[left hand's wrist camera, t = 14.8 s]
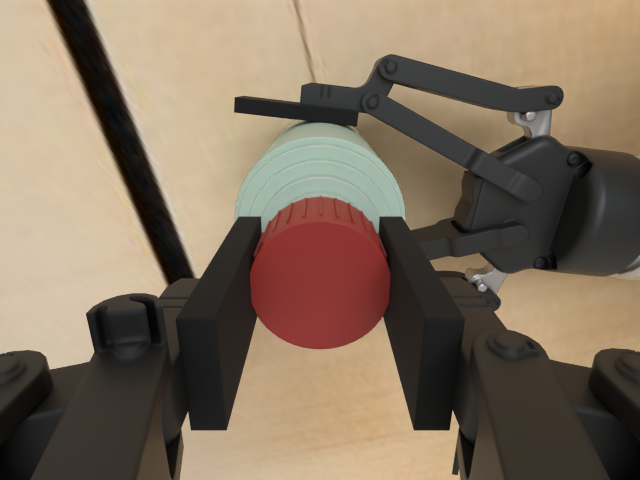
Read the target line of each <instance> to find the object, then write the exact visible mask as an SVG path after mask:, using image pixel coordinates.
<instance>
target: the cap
mask: <svg viewBox="0 0 640 480" xmlns="http://www.w3.org/2000/svg"><path fill="white" fill-rule="evenodd" d="M253 257H255V258H254V261H253V264H252V267H251V270H250V284H251V299H252V306H253V308H254V310H255V312H256V314H257V316H258V317H259V319H260V320H261V322H262V323H263V324H264V325H265V326H266V327H267V328H268V329H269V330H270V331H271V332H272V333H273V334H275V335H276V336H278V337H279V338H281V339H283V340H284V341H286V342H289V343H291V344H294V345H296V346H300V347H304V348H310V349H330V348H336V347H340V346H344V345H347V344H349V343H352V342H354V341H356V340H358V339H360V338H361V337H363V336H364V335H366V334H367V333H368V332H370V331H371V330H372V329H373V328H374V327H375V326H376V325H377V323H378V322H379V321H380V320H381V318H382V316H383V315H384V313H385V311H386V309H387V307H388V304H389V291H390V275H391V272H390V269H389V265H388V262H387V260H386V258H387V257H388V256H387V254H386V251H385V249H384V246H383V244H382V241H381V239H380V236H379V234H378V233H376V231H375V228H374V225H373V223H372V221H369V220H368V218H367V217H366V216H365V215H364V214H363V211H359V210H358V209H357V208H355V207H354V206H352V205H351V203H346V202H344V201H341V200H338V199H337V198H329V197H322V196H319V197H311V198H307V197H306V198H304V199H302V200H299V201H296V202H294V203H293V202H291V203H290V205H288V206H287V207H285V208H284V209H282V210H279V211H278V213H277V214H276V215H275V217H274V218H273V219H272V220H269V222H268V224H267V227H266V230H265V232H262V235H261V237H260V240H259V242H258V245H257V247H256V250H255V253H254V255H253Z"/></svg>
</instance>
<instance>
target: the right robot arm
mask: <svg viewBox="0 0 640 480" xmlns="http://www.w3.org/2000/svg"><path fill="white" fill-rule="evenodd" d="M393 84H398V85H402V86H405V87H409V88H413V89H417V90H420V91H424V92H428V93H431V94H435V95H439V96H443V97H446V98H450V99H454V100H458V101H461V102H465V103H469V104H472V105H476V106H480V107H484V108H488V109H493V110H500V111H507V119H508V121H509V122H510V123H511V124H514V125H519V126H521V127H522V128H523V130H524V134H525V135H524V136H522V137H520V138H518V139H516V140H515V141H513V142H511V143H509V144H507V145H505V146H503V147H501V148H499V149H498V150H496V151H494V152H492V153H490V154H488V153H486V152H484V151H482V150H480V149H478V148H476V147H474V146H473V145H471V144H469V143H467V142H466V141H464V140H462V139H460V138H459V137H457V136H455V135H453V134H452V133H450V132H448V131H446V130H445V129H443V128H441V127H439V126H438V125H436V124H434V123H432V122H431V121H429V120H427V119H425V118H424V117H422V116H420V115H418V114H417V113H415V112H413V111H411V110H410V109H408V108H406V107H404V106H403V105H401V104H399V103H397V102H396V101H394V100H392V99H390V98H389V97H387V95H388V94H389V92H390V90H391V88H392V86H393ZM563 97H564V95H563V91H562V89H561V88H560V87H558V86H523V87H510V86H506V85H503V84H499V83H495V82H492V81H488V80H485V79H481V78H477V77H474V76H470V75H466V74H463V73H459V72H456V71H452V70H448V69H445V68H441V67H437V66H434V65H430V64H426V63H423V62H419V61H416V60H412V59H408V58H405V57H401V56H397V55H391V54H390V55H387V56H384V57H382V58H380V59H378V60H377V61H376V62H375V65H374V68H373V70H372V72H371V74H370V76H369V78H368V80H367V81H366V83H365V84H364V85H362V86H360V87H357V88H351V87H343V86H335V85H327V84H318V83H309V84H305V85H302V88H301V99H300V103H299V102H290V101H282V100H273V99H265V98H257V97H248V96H240V97H235V107H234V112H236V113H244V114H253V115H262V116H270V117H279V118H287V119H296V120H304V121H313V122H321V123H330V124H338V125H347V126H355V127H357V120H358V113H359V112H361V113H368V114H370V115H371V116H373V117H375V118H377V119H379V120H380V121H382V122H384V123H386V124H387V125H389V126H391V127H393V128H395V129H396V130H398V131H400V132H402V133H404V134H405V135H407V136H409V137H411V138H413V139H414V140H416V141H418V142H420V143H422V144H423V145H425V146H427V147H429V148H431V149H432V150H434V151H436V152H438V153H439V154H441V155H443V156H445V157H447V158H448V159H450V160H452V161H454V162H456V163H457V164H459V165H461V166H463V167H465V168H466V169H468V171H464V175H463V180H462V197H461V199H460V201H459V203H458V204H457V206H456V209H455V213H454V217H453V218H449V219H445V220H441V221H439V222H437V224H435V225H432V226H428V227H424V228H420V229H416V230H411V232H412V234H413V235H414V237H415V239H416V240H417V242H418V244H419V245H420V247H421V248H422V250H423V252H424V253H425V255H426V257H427V258H428V260H433V259H437V258H441V257H446V256H453V257H462V256H466V255H471V254H475V253H480V254H481V255H482V256H483V257H484V258H485V259H486V260H487V261H488V262H489V263H488V264H487V265H486V266H485V267H484V268H481V269H472V268H469V269H467V270H466V272H465V273H461V272H456V271H436V273H437V274H438V276H439V277H460V278H462V279H463V280H465V281H467V282H468V283H470V284H472V285H473V286H474V287H475V288H476V289H477V291H478V292H479V293H480V295H481V296H482V298H483V299H484V300H485V301H486V302H487V304H488V307H490V308H491V309H492V310H493V311H496V310H497V309H498V308H499V307H500V304H501V301H500V299H499V297H498V296H497V295H496V294H497V292H498V290H499V288H500V286H501V285H502V283H503V281H504V279H505V277H506V276H507V274H511V273H516V272H519V271H521V270H525V269H539V270H545V271H552V272H561V273H571V274H580V275H590V276H602V277H603V276H609V277H612V278H616V279H626V280H637V281H640V155H634V156H633V155H631V154H628V153H622V152H613V151H605V150H597V149H588V148H580V147H571V146H564V145H563V144H561V143H560V142H558V141H557V140H556V139H555V138H553V137H551V136H550V127H551V116H552V109H555V108H557V107H558V106H559V105H560V104H561V103H562V101H563Z"/></svg>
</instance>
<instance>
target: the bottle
mask: <svg viewBox="0 0 640 480" xmlns="http://www.w3.org/2000/svg"><path fill="white" fill-rule="evenodd" d="M319 196H322V197H329V198H337V199H338V200H341V201H344V202H346V203H351V205H352V206H354V207H355V208H357V209H358V210H359V211H363V214H364V215H365V216H366V217H367V218H368V220H369V221H372V223H373V225H374V228H375V231H376V233H378V234H379V216H402V218H403V219H404V221H405V217H406V214H405V205H404V201H403V196H402V193H401V190H400V188H399V186H398V183H397V181H396V180H395V178H394V176H393V174H392V173H391V172H390V170H389V169H388V168H387V167H386V165H385V164H384V163H383V162H382V160H381V159H380V158H379V157H378V155H377V154H376V153H375V152H374V151H373V149H372V148H371V147H370V146H369V144H368V143H367V142H366V141H365V139H364V138H363V137H362V136H361V135H360V133H359V132H358V131H357V130H356V129H355V128H354V127H353V126H347V125H338V124H330V123H321V122H313V121H304V120H295V121H293V122H292V123H290V124H289V125H288V126H287V127H286V128H285V129H284V130H283V131H282V132H281V133H280V135H279V136H278V137H277V138H276V140H275V141H274V142H273V143H272V145H271V146H270V147H269V148H268V150H267V151H266V152H265V153H264V154H263V156H262V157H261V158H260V159H259V161H258V162H257V163H256V164H255V166H254V167H253V168H252V169H251V171H250V172H249V174H248V175H247V177H246V178H245V180H244V182H243V184H242V186H241V189H240V191H239V194H238V198H237V202H236V208H235V222H236V220H237V218H238V217H239V216H261V226H262V232H265V230H266V227H267V224H268V222H269V220H272V219H273V218H274V217H275V215H276V214H277V213H278V211H279V210H282V209H284V208H285V207H287V206H288V205H290V203H291V202H293V203H294V202H296V201H299V200H302V199H304V198H306V197H307V198H311V197H319Z"/></svg>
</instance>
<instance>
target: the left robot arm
mask: <svg viewBox="0 0 640 480" xmlns="http://www.w3.org/2000/svg"><path fill="white" fill-rule="evenodd" d="M261 235H262V226H261V216H239V217H238V218H237V220H236V222H235V223H234V225H233V227H232V228H231V230H230V231H229V233H228V235H227V236H226V238H225V240H224V241H223V243H222V244H221V246H220V248H219V249H218V251H217V253H216V254H215V256H214V257H213V259H212V261H211V262H210V264H209V266H208V267H207V269H206V270H205V272H204V274H203V275H202V277H201V279H180V280H178V281H176V282H175V283H173V284H171V285H170V286H168V287H167V288H166V289H165V290H164V292H163V293H162V294H161V296H160V297H159V298H158V297H156V296H154V295H150V294H146V293H132V294H126V295H121V296H116V297H113V298H110V299H107V300H104V301H103V302H101V303H99V304H97V305H95V306H93V307H92V308H91V309H90V310H89V311H88V312H87V313H86V316H87V321H88V325H89V329H90V334H91V338H92V342H93V347H94V351H95V352H94V354H93V356H92V358H91V360H90V362H86V363H82V364H77V365H72V366H67V367H62V368H57V369H51V370H50V369H49V366H48V362H47V359H46V357H45V356H44V355H43V354H42V353H40V352H36V351H31V350H25V351H12V352H7V353H6V354H4V353H3V354H0V480H180V472H181V464H182V456H183V448H184V445H183V438H182V432H181V427H182V425H183V422H184V420H185V417H186V415H187V412H189V419H190V426H191V430H227V427H228V423H229V419H230V416H231V412H232V408H233V404H234V401H235V397H236V393H237V390H238V386H239V382H240V378H241V375H242V371H243V367H244V364H245V360H246V356H247V353H248V349H249V345H250V341H251V338H252V334H253V330H254V327H255V323H256V319H257V314H256V312H255V310H254V308H253V306H252V299H251V284H250V270H251V267H252V264H253V261H254V258H255V257H253V255H254V253H255V250H256V247H257V245H258V242H259V240H260V237H261ZM379 236H380V239H381V241H382V244H383V246H384V249H385V251H386V254H387V256H388V257H387V258H386V260H387V262H388V265H389V269H390V272H391V275H390V291H389V304H388V307H387V309H386V311H385V313H384V315H383V317H384V321H385V325H386V329H387V332H388V336H389V340H390V343H391V347H392V351H393V354H394V358H395V362H396V366H397V369H398V373H399V377H400V380H401V384H402V388H403V392H404V395H405V399H406V403H407V406H408V410H409V414H410V417H411V421H412V425H413V429H414V430H450V423H451V416H452V409H453V411H454V414H455V416H456V419H457V421H458V424H459V432H458V438H457V445H456V451H455V458H454V464H453V472H452V474H454V475H458V471H460V479H461V480H640V352H638V351H637V352H635V351H634V350H628V349H614V348H611V349H605V350H601V351H600V352H598V353H597V354H596V355H595V357H594V361H593V365H592V368H589V367H583V366H578V365H573V364H568V363H562V362H558V361H554V360H550V359H549V357H548V355H547V353H546V351H545V350H544V349H543V348H542V347H541V345H540V344H539V343H537V342H536V341H534V340H533V339H531V338H530V337H528V336H526V335H523V334H521V333H518V332H515V331H511V330H507V329H506V327H505V326H504V325H503V323H502V322H501V321H500V320H499V318H498V317H497V316H496V314H495V313H494V312H493V310H492V309H491V308H490V307H488V304H487V302H486V301H485V300H484V299H483V298H482V296H481V295H480V293H479V292H478V291H477V289H476V288H475V287H474V286H473V285H472V284H470V283H468V282H467V281H465V280H463V279H462V278H460V277H439V276H438V274H437V273H436V271H435V270H434V268H433V266H432V265H431V263H430V261H429V260H428V258H427V257H426V255H425V253H424V252H423V250H422V248H421V247H420V245H419V244H418V242H417V240H416V239H415V237H414V235H413V234H412V232H411V231H410V229H409V227H408V226H407V224H406V222H405V221H404V219H403V218H402V216H379Z"/></svg>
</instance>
